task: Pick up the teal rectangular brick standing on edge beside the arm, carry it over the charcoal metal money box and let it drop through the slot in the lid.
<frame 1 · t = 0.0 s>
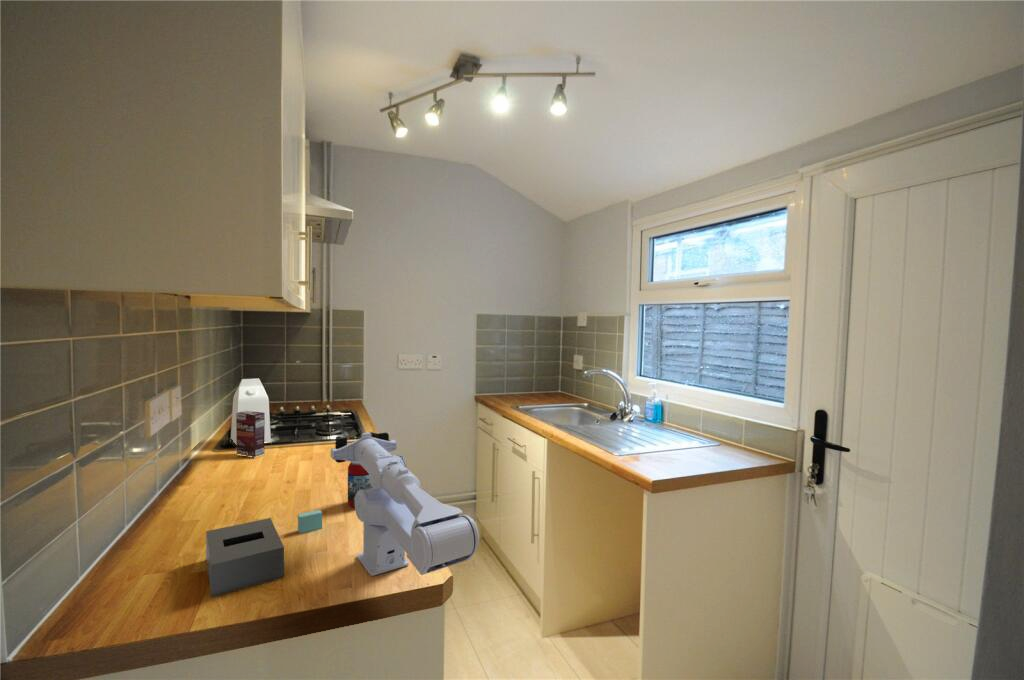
hand: (353, 438, 113), 22 cm above the worktop, tool horizontal, fingers open, 7 cm apart
beverage can: (360, 504, 128), on the worktop
coin box: (243, 568, 94), on the worktop
teal rectangular brick: (310, 529, 112), on the worktop
milk: (250, 444, 184), on the worktop
supplement box: (250, 456, 170), on the worktop
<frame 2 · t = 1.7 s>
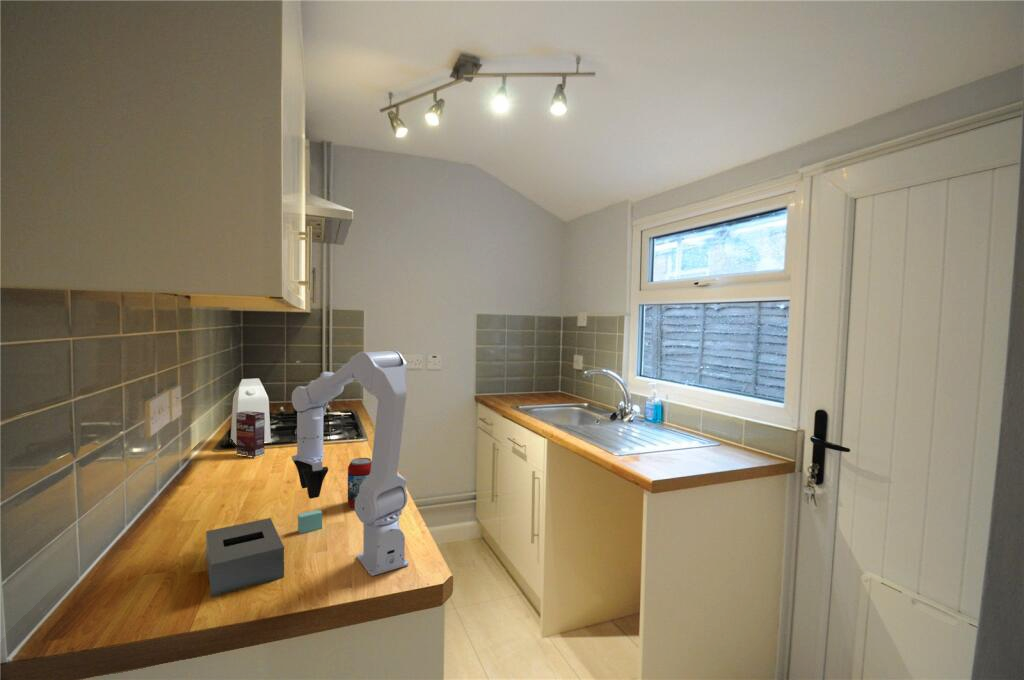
hand: (310, 492, 112), 9 cm above the worktop, tool pointing down, fingers open, 7 cm apart
nothing on the worktop moved.
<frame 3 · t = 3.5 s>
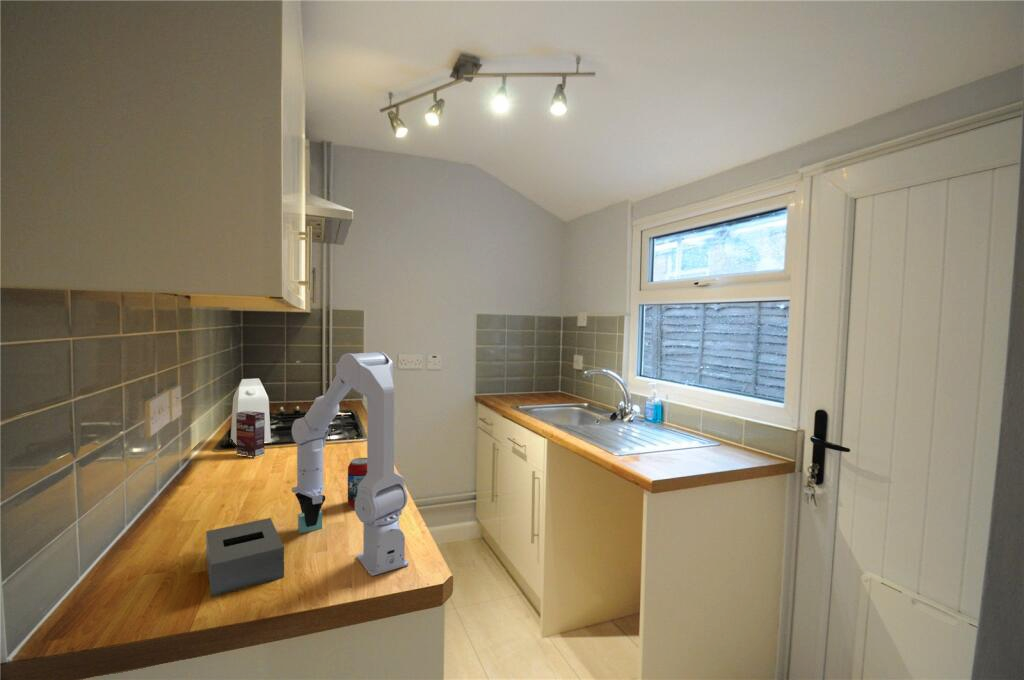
hand: (310, 523, 112), 1 cm above the worktop, tool pointing down, fingers closed on teal rectangular brick, 2 cm apart
teal rectangular brick: (310, 529, 112), on the worktop, touching gripper
everything else where it was.
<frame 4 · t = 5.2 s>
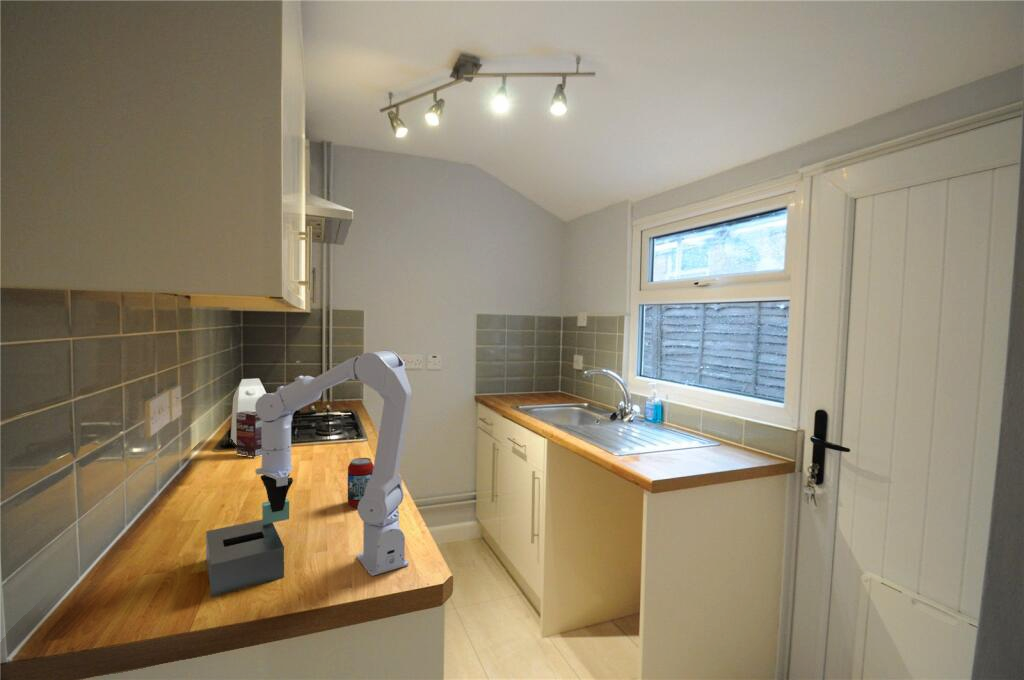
hand: (276, 508, 102), 9 cm above the worktop, tool pointing down, fingers closed on teal rectangular brick
teal rectangular brick: (275, 520, 102), point 6 cm above the worktop, touching gripper
everything else where it was.
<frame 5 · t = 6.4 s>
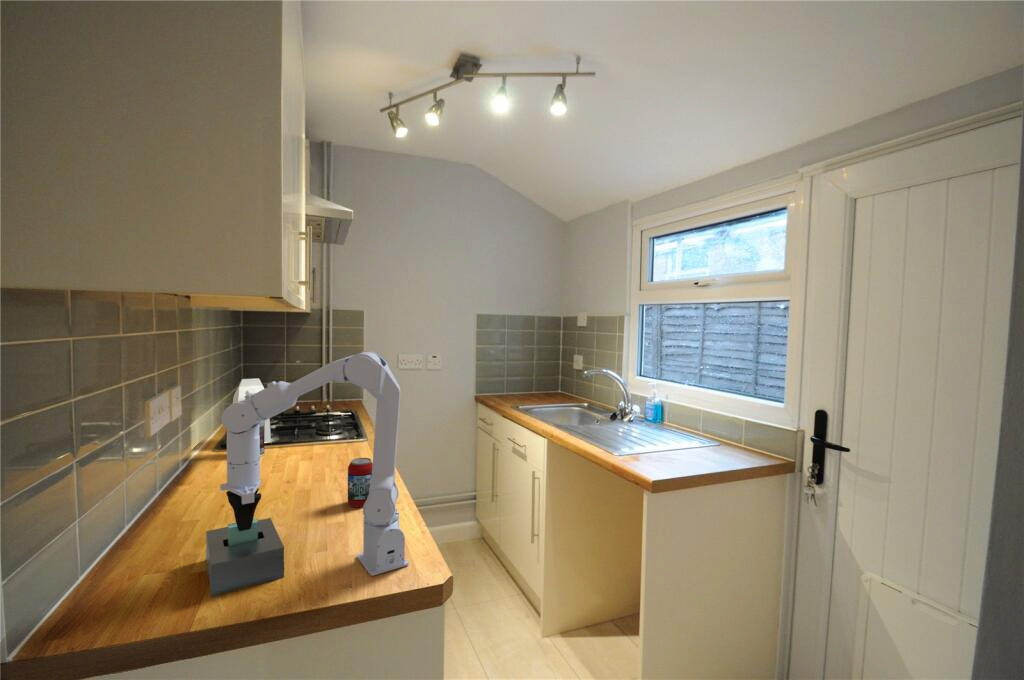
hand: (243, 527, 94), 8 cm above the worktop, tool pointing down, fingers closed on teal rectangular brick
teal rectangular brick: (243, 542, 94), point 5 cm above the worktop, touching gripper
everything else where it was.
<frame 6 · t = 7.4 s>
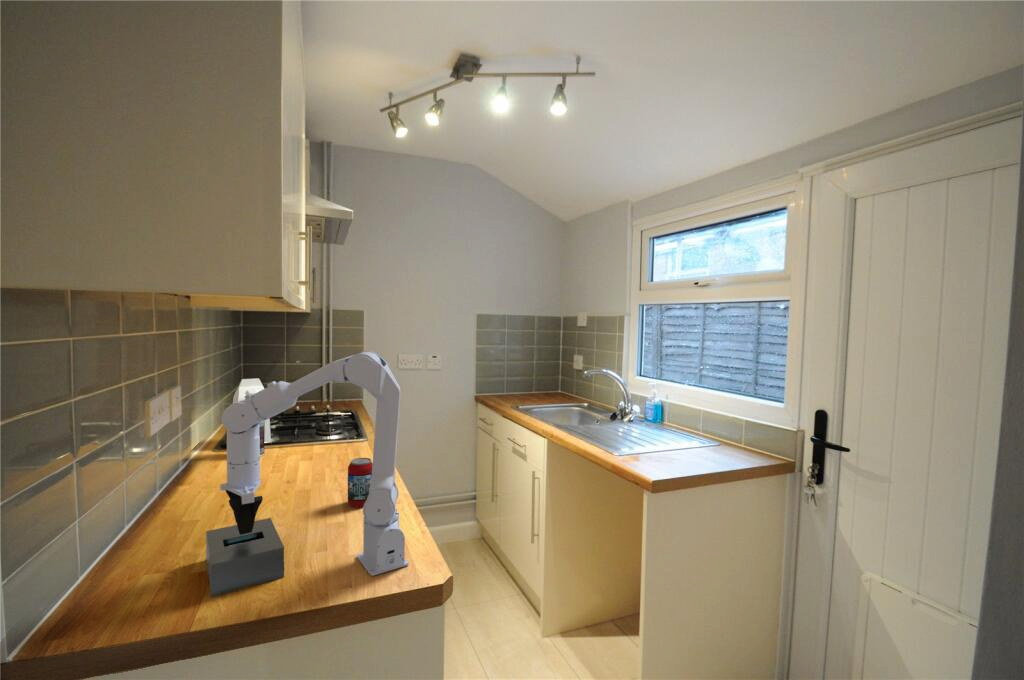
hand: (243, 527, 94), 8 cm above the worktop, tool pointing down, fingers open, 5 cm apart
teal rectangular brick: (243, 564, 94), point 1 cm above the worktop, touching coin box
everything else where it was.
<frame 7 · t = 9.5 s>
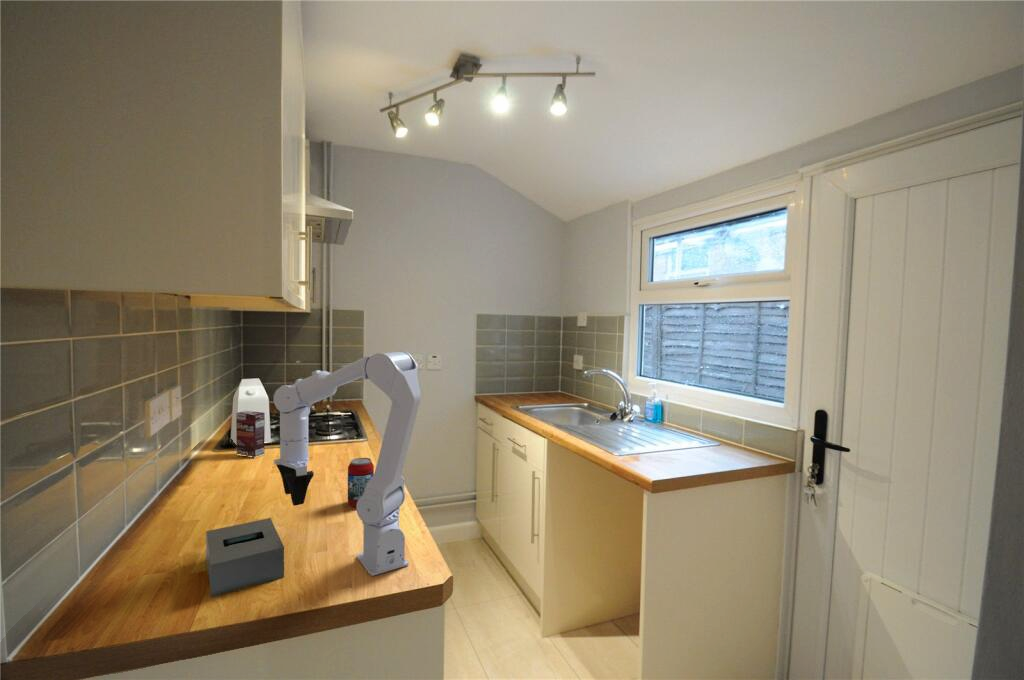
hand: (294, 498, 104), 10 cm above the worktop, tool pointing down, fingers open, 7 cm apart
nothing on the worktop moved.
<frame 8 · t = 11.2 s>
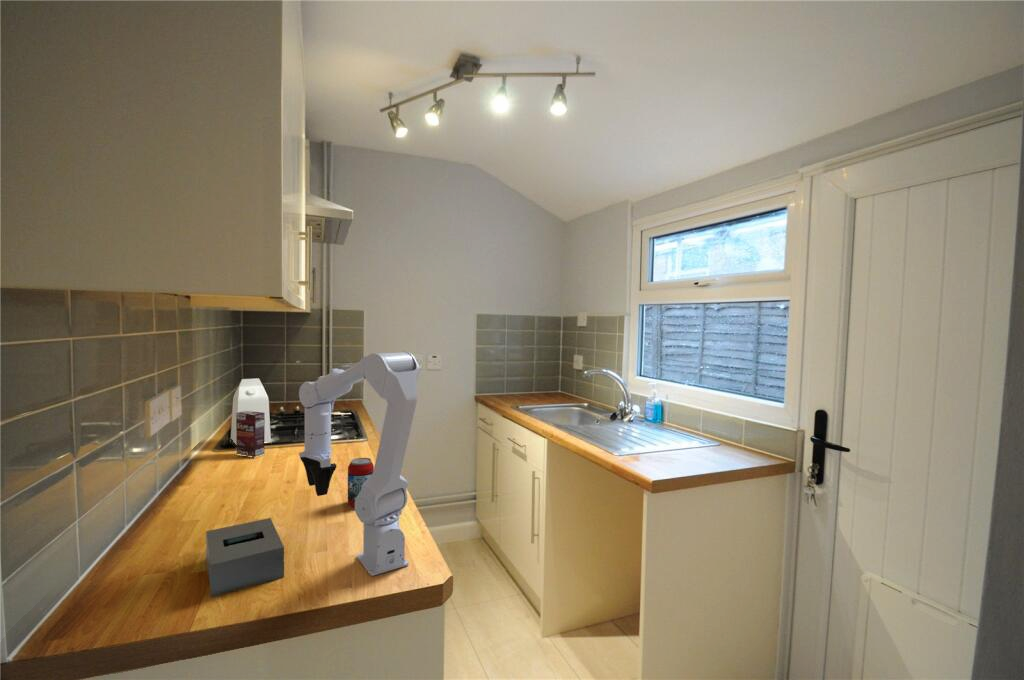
hand: (317, 489, 110), 10 cm above the worktop, tool pointing down, fingers open, 7 cm apart
nothing on the worktop moved.
at the end: teal rectangular brick inside the target area on the coin box (0.1 cm from its centre), point 0.8 cm above the coin box's base; the gripper is holding nothing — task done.
